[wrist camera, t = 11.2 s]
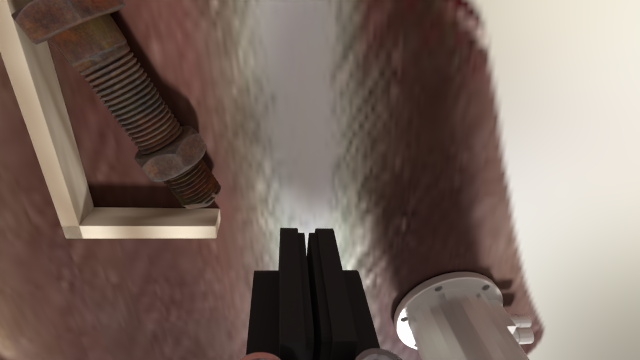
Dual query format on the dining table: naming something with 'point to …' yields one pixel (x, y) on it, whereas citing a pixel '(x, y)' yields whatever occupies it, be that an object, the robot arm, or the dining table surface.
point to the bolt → (124, 92)
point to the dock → (63, 157)
